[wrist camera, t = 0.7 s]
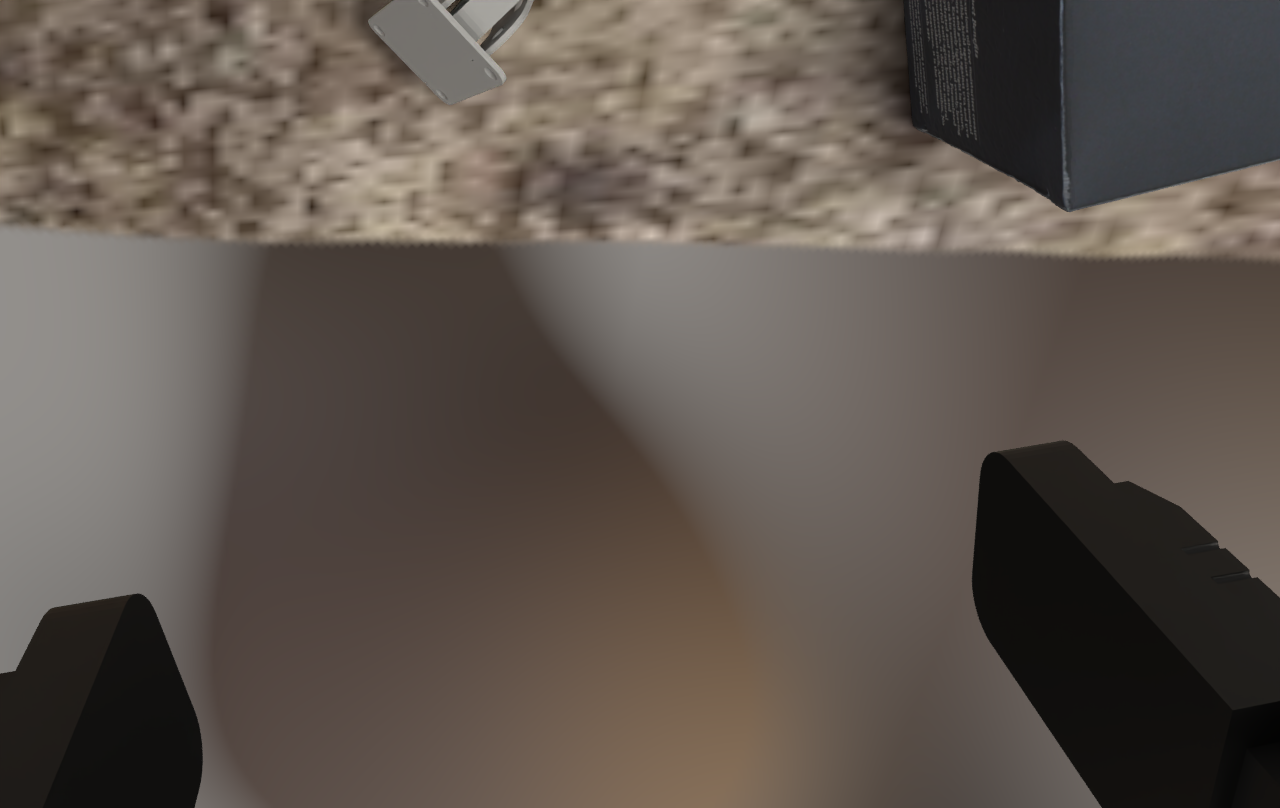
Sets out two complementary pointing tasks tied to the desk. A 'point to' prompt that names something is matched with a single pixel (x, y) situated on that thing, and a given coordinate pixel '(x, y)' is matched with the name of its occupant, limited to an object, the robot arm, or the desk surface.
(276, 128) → the desk surface
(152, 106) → the desk surface
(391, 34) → the bracket
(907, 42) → the small box
